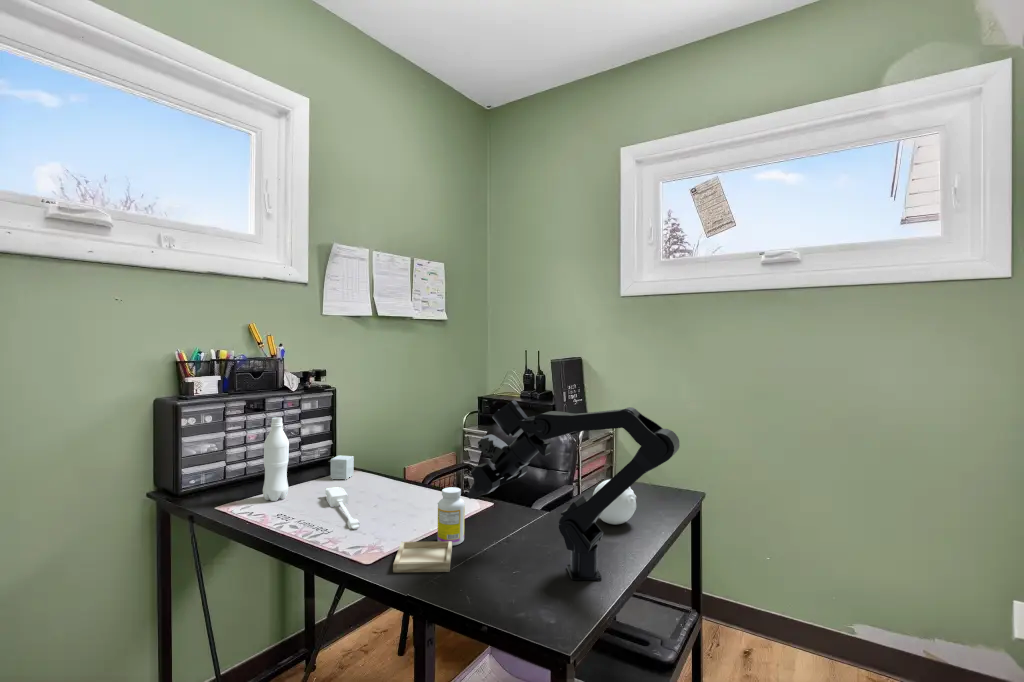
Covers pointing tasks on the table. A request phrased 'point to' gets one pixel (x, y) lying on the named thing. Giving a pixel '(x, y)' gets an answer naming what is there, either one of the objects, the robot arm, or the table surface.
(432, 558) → the tray
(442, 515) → the supplement bottle
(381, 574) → the table surface
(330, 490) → the white toy mallet
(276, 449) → the water bottle
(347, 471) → the product box
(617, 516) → the decorative ball
